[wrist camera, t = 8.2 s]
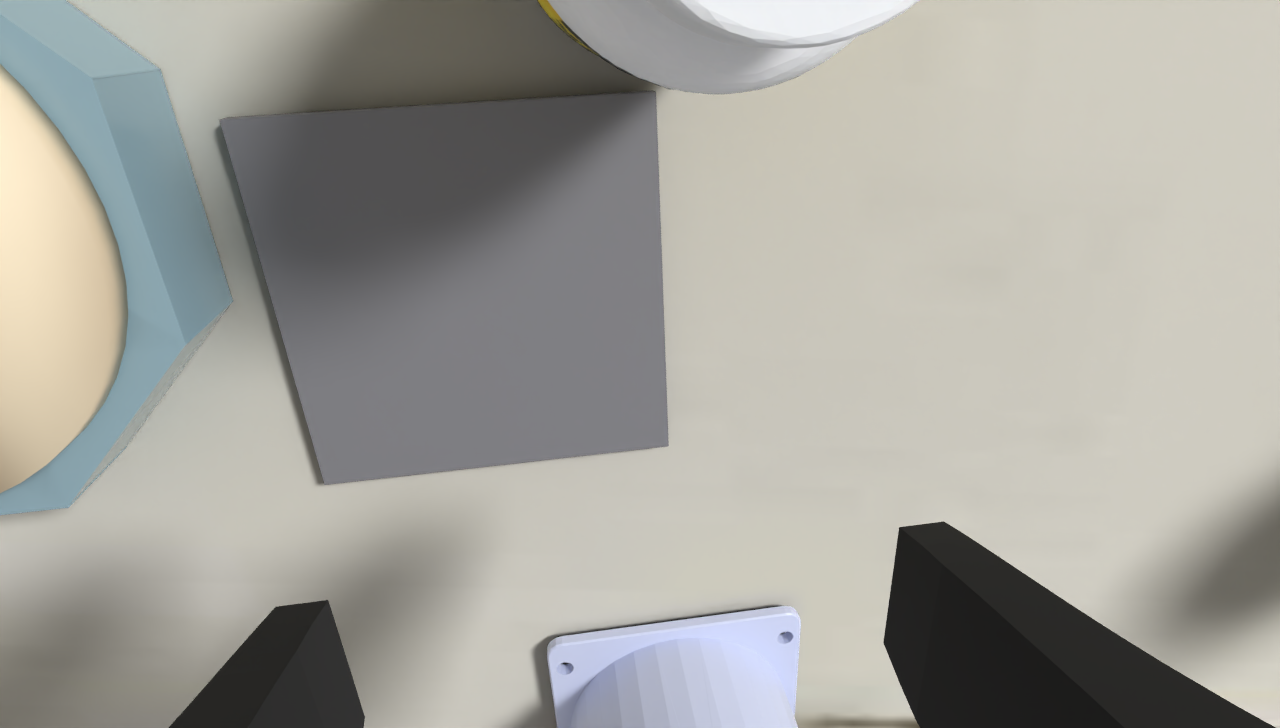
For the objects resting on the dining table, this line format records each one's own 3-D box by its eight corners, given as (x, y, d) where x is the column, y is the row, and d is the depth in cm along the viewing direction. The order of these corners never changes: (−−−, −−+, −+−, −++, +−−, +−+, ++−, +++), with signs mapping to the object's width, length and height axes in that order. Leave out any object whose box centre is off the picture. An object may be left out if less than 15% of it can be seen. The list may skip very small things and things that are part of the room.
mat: (666, 438, 20) (668, 446, 19) (328, 476, 19) (324, 484, 19) (653, 90, 16) (655, 91, 16) (226, 117, 15) (219, 120, 15)
